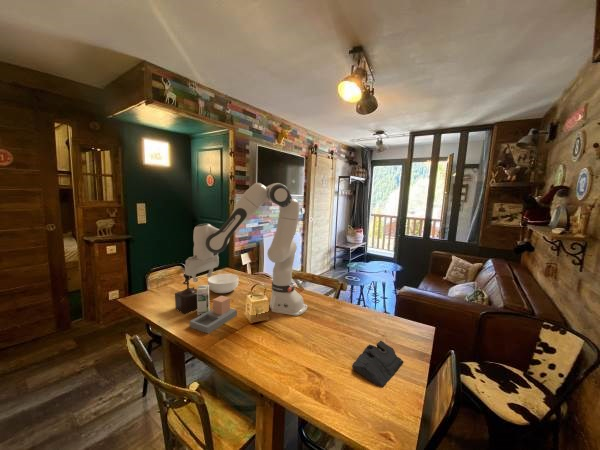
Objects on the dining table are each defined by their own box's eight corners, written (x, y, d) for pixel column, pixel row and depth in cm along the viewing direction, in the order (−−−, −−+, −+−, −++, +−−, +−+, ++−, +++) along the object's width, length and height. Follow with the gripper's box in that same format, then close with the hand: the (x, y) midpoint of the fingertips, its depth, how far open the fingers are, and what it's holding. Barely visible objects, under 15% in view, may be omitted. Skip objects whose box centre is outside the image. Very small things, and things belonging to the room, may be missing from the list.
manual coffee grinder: (203, 307, 139) (202, 277, 137) (184, 314, 130) (183, 282, 128) (189, 299, 148) (188, 271, 146) (170, 305, 139) (169, 275, 137)
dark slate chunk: (344, 369, 94) (345, 357, 93) (371, 344, 110) (371, 334, 109) (382, 391, 84) (384, 379, 83) (406, 361, 100) (407, 350, 99)
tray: (219, 310, 136) (219, 293, 135) (236, 315, 131) (236, 297, 130) (189, 327, 118) (189, 307, 117) (208, 333, 113) (207, 313, 112)
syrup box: (197, 315, 130) (196, 289, 128) (198, 310, 136) (198, 285, 134) (208, 314, 131) (208, 288, 130) (209, 309, 137) (209, 284, 135)
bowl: (244, 289, 167) (244, 277, 166) (221, 299, 150) (221, 286, 149) (225, 283, 177) (224, 271, 176) (201, 291, 161) (201, 279, 160)
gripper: (190, 259, 119) (190, 286, 121) (220, 251, 137) (220, 274, 139) (181, 257, 121) (181, 283, 123) (212, 249, 140) (212, 272, 142)
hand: (202, 279), depth 131 cm, fingers open, 8 cm apart
